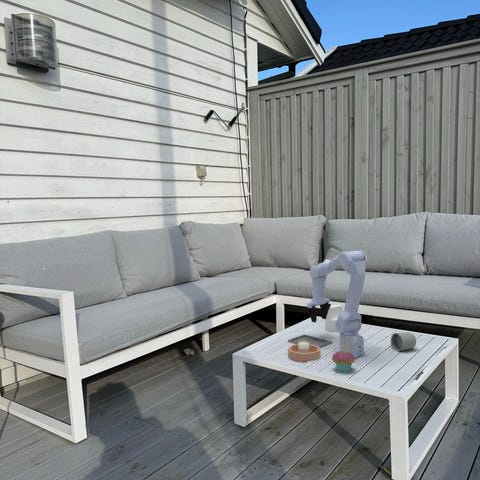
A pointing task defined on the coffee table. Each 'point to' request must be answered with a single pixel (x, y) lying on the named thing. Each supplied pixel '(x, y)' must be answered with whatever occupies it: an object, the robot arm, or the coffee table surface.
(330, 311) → the grey white cylinder
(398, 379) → the coffee table surface
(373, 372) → the coffee table surface
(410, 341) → the ceramic mug
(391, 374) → the coffee table surface
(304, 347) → the smooth grey cylinder
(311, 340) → the parts tray
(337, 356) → the cupcake
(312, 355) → the terracotta bowl
